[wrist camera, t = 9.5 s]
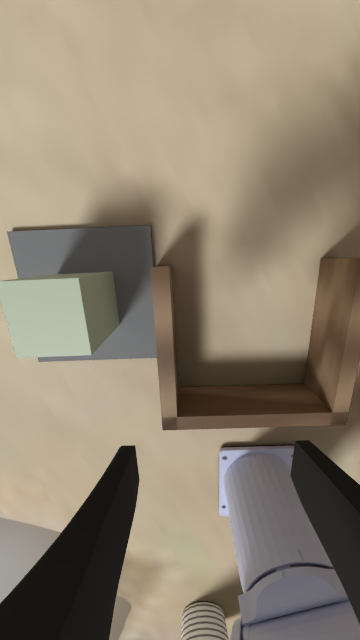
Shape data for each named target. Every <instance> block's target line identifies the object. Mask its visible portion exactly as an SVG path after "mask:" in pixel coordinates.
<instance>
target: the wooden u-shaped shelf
mask: <svg viewBox="0 0 360 640" xmlns="http://www.w3.org/2000/svg"><path fill="white" fill-rule="evenodd" d="M150 271H151V284H152V297H153V310H154V323H155V336H156V349H157V362H158V375H159V388H160V400H161V413H162V426H163V430H187V429H221V428H256V427H291V426H325V425H346V422H347V418H348V413H349V408H350V403H351V398H352V393H353V389H354V384H355V379H356V374H357V369H358V364H359V360H360V258H324V259H321V262H320V269H319V277H318V284H317V292H316V299H315V307H314V314H313V322H312V329H311V337H310V344H309V351H308V359H307V366H306V374H305V381H304V383H302V384H271V385H240V386H209V387H178V378H177V358H176V338H175V318H174V298H173V278H172V265H159V266H154V267H150Z"/></svg>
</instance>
